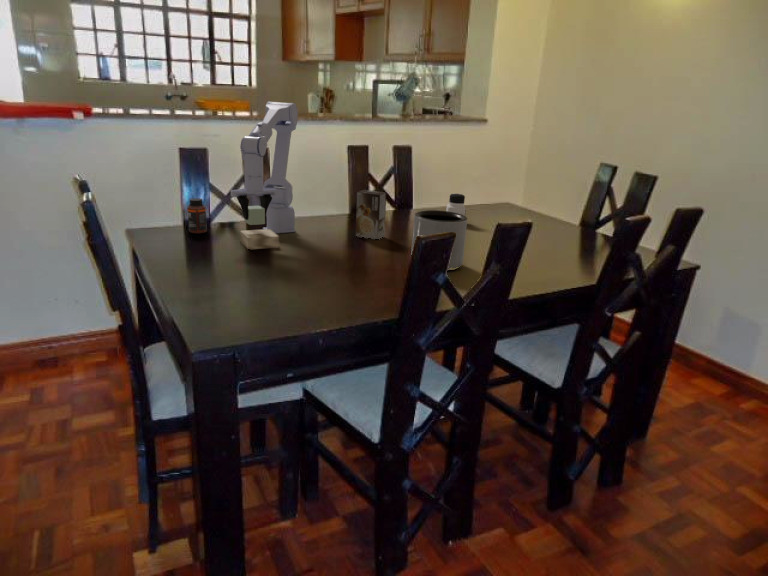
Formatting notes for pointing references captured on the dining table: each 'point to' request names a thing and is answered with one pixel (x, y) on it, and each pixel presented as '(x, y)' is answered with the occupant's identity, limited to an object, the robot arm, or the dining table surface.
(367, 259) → the dining table surface
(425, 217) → the planter
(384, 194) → the coffee box
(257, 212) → the sage cube
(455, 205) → the medicine bottle
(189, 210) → the supplement bottle
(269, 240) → the birch base
